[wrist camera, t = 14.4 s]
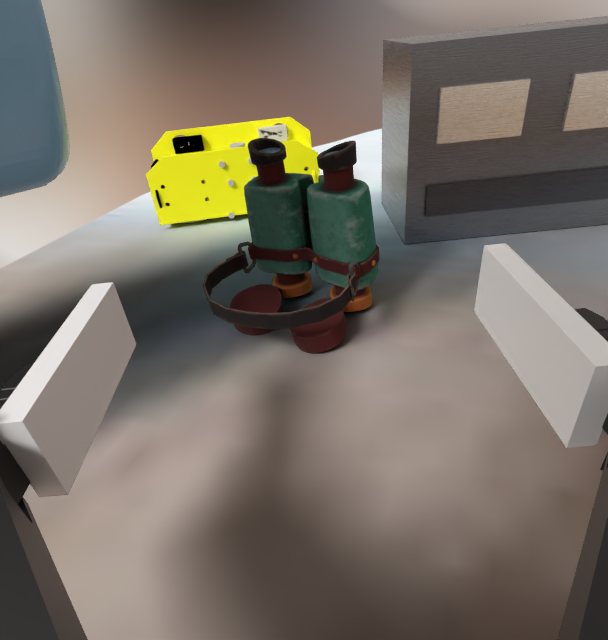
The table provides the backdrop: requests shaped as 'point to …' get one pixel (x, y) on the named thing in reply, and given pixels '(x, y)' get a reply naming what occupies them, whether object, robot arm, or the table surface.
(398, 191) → the box
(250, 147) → the binoculars
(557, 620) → the table surface
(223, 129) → the yellow toy chassis
